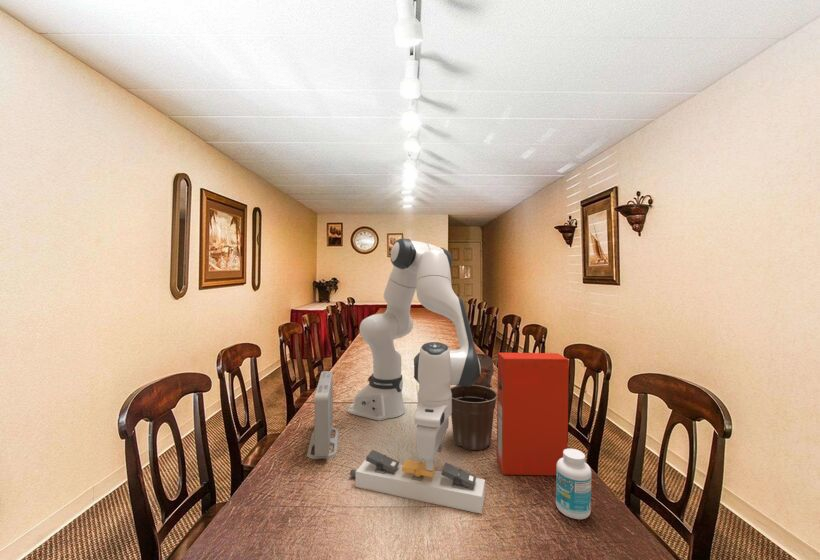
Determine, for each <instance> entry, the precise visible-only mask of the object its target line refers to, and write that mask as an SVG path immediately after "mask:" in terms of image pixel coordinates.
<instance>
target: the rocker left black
mask: <svg viewBox="0 0 820 560" xmlns="http://www.w3.org/2000/svg"><path fill="white" fill-rule="evenodd" d="M365 460H366V461H368V462H370V463H372V464H374V465H376V467H377V469H379V470H382V469H385V470H387V471H389V472H391V473H393V474H394V472H395V471H396V469H397V468H398V466H399V464H400V461H398V460H396V459H393V458H391V457H390V456H388V455H385V454H383V453H381V452H379V451H376V450H374V449H372V450H371V451H370V452H369V453H368V455H367V456H366V458H365Z"/></svg>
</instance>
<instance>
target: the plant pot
mask: <svg viewBox="0 0 820 560" xmlns="http://www.w3.org/2000/svg"><path fill="white" fill-rule="evenodd" d="M450 389H451V393H452V414H451V416H450V417H451V426H452V437H453V442H454V443H455V445H457V447H462V448H463V449H464V450H468V451H469V450H470V451H483V450H484V449H487V447H490V446H491V444H492V436H493V435H492V433H493V423H494V415H495V413H494V412H495V408H496V405H497V403H496V402H497V392H496V391H495V390H494V389H492V388H488V387H484V386H479V385H472V386H470V387H467V386H457V385H453V387H450Z"/></svg>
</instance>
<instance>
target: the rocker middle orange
mask: <svg viewBox="0 0 820 560" xmlns="http://www.w3.org/2000/svg"><path fill="white" fill-rule="evenodd" d="M435 471H437V464H436V463H434V469H433V471H429V470H427V469H426V462H424V461H418V460H417V461H416V460H411V459H406V460H405V461H404V462H403V466H402V472H407V473H412V474H414V476H416V477H420V476H421V475H424V476H429V477H433V476H434V473H435Z"/></svg>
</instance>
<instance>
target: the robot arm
mask: <svg viewBox="0 0 820 560" xmlns="http://www.w3.org/2000/svg"><path fill="white" fill-rule="evenodd" d="M390 262H391V264H392V265H393V267H392V269H391V272H390V275H389V277H388V280H387V282H386V286H385V289H384V291H383V298H384V301H385V302H386V309H385V312H381V313H374V314H371V315H369V316H367V317H365V318H364V319H362V320H361V322H360V324H359V334H360V336H361V338H362V340H363V341H364V342H366V344H367V345H368V346H369V348H370V351H371V354H372V365H373V366H372V368H373V369H372V371H373V373H371V375H370V376H368V378H367V383H368V384H367V385H366V386H364V387H363V388H362V389H360V390H359V391H358V392H357V393H356V395H355V396H354V402H352V403H351V404H350V405H349V407H348V409H347V413H348V414H350V415H353V416H354V415H355V416H358V417H363V418H367V419H371V420H375V421H377V422H378V421H383V420H386V419H392V418H393V419H394V418H397V417H401V416H402V415H404V414H405V412H406V408H405V403H404V398H403V387H404V385H403V384H404V380H403V374H402V355H401V353H400V352H399V351H397V350H396V348H395V345H394V340H398V339H402V338H403V337H406V336H407V335H408V334H410V333H411V332H412V331H413V328H414V321H413V318H412V316H411V305H412V301H413V299H414V296H415V293H416V297H417V300H418V302H419V303H420V304H421V306H422V307H424V308H426V309H427V310H428V311H431V312H433V313H436V314H439V315H442V316H443V317H445V318H447V319H449V320H451V321H452V323H453V325H454V327H455V332H456V334H457V339H458V340H457V341H458V345H459V348H458V349H450V347H449V346H448V345H447V344H445V343H443V342H439V341H431V342H425V343H424V344H422V345H420V349H419V352H418V353H417V354H416V355H415V357H414V359H413V366H414V367H413V378H414V380H415V381H416V382H417V383H418V386H419V387H418V388H419V389H418V392H417V402H416V403H417V404H416V410H415V413H414V417H413V423H414V425H416V428H415V429H416V430H415V439H416V453H417V457H418V459H420V460H423V461H425V462H424V463H426V469H427V470H429V471H433V469H434V464H435V460H434V458H435V456H436V455H437V454H436V453H437V452H438V453H441V452H442V450H443V443H444V436H445V434H446V433H447V430H448V428H449V424H450V423H449V418H450V417H451V414H452V393H451V389H450V388H451V386H457V385H458V386H467V387H470V386H472V385H473V384H474V383H476V382H477V381H478V379H479V378H480V373H481V366H480V362H479V359H478V356H477V354H478V353H477V350H476V347H475V341H474V338H473V334H472V330H471V325H470V322H469V318H468V314H467V313H468V312H467V309H466V306H465V304H464V302H463V299H462V298H461V297H459V296H457V294H456V293H455V292H454V289H453V287H452V285H453V284H452V274H451V268H452V264H453V257H452V254H451V251H449V250H448V249H445V248H443V247H439V246H437V245H434V244H432V243H428V242H424V241H418V240H411V239H410V238H399V239H397V240H396V241H395V242H394V243H393V245H392V247H391V250H390Z"/></svg>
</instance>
